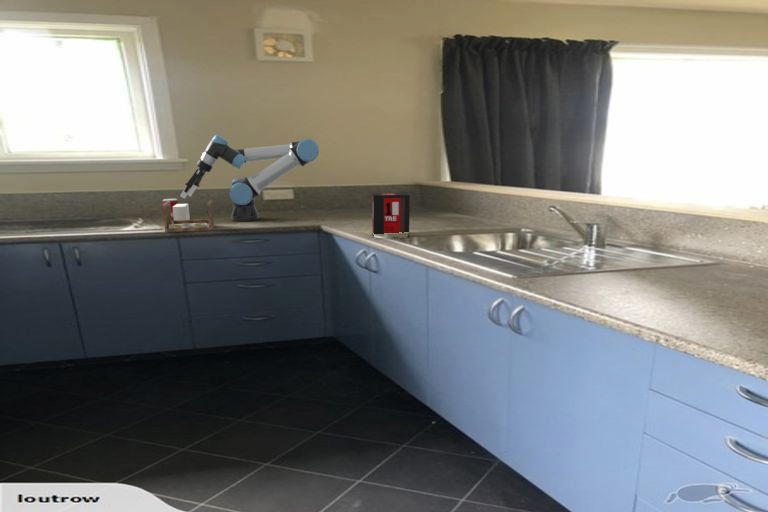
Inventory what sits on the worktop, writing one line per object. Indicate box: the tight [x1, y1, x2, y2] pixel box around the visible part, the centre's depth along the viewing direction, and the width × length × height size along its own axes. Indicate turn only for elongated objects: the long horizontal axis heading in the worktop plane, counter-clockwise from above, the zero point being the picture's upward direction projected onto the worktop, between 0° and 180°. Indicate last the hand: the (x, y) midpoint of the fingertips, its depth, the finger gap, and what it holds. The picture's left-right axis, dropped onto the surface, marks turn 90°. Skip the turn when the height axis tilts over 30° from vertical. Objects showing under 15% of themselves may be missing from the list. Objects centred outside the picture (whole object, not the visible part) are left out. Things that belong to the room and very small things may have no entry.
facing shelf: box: [161, 199, 215, 233], centre depth 255 cm, size 22×14×14 cm, turn 102°
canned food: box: [162, 198, 179, 220], centre depth 288 cm, size 8×8×11 cm
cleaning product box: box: [371, 192, 411, 234], centre depth 233 cm, size 16×9×20 cm, turn 95°
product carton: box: [173, 203, 191, 221], centre depth 271 cm, size 12×6×10 cm, turn 12°
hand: (185, 196), depth 263 cm, fingers open, 13 cm apart
